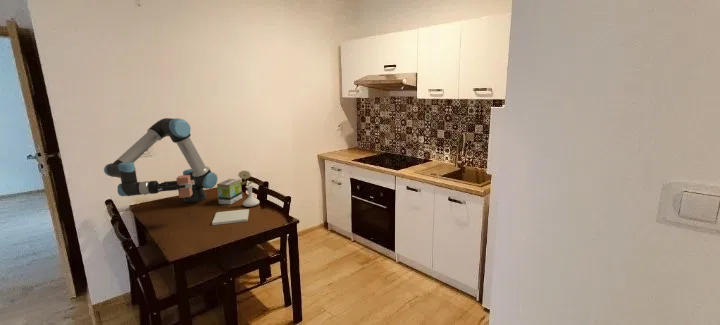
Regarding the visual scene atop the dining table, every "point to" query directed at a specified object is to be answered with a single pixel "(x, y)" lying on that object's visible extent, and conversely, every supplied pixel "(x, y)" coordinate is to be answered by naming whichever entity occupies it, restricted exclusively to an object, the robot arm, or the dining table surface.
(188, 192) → the brick block
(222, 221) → the grey board
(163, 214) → the dining table surface
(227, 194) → the tea box
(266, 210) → the dining table surface
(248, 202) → the flower in vase
